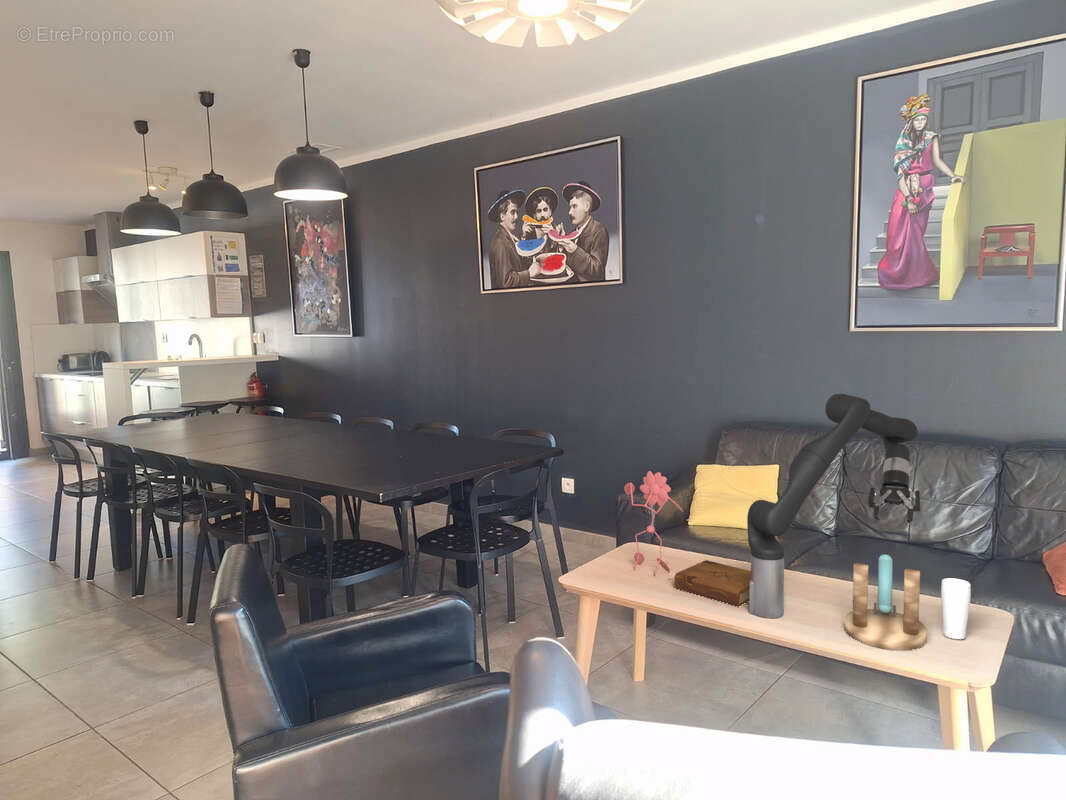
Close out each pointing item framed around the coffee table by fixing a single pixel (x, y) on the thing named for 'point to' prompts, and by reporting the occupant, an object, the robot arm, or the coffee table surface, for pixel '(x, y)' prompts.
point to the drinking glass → (955, 607)
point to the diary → (716, 582)
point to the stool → (886, 615)
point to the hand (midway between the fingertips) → (892, 520)
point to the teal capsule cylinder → (885, 583)
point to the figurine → (653, 493)
